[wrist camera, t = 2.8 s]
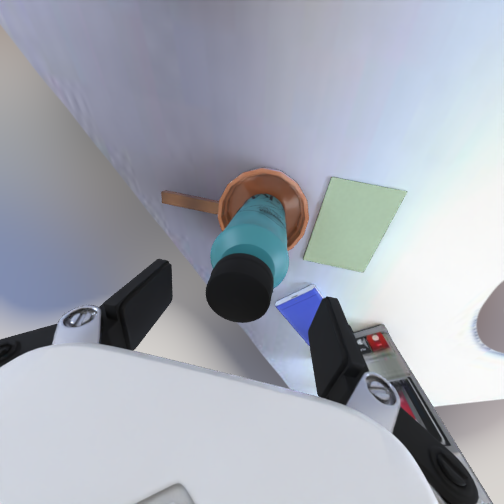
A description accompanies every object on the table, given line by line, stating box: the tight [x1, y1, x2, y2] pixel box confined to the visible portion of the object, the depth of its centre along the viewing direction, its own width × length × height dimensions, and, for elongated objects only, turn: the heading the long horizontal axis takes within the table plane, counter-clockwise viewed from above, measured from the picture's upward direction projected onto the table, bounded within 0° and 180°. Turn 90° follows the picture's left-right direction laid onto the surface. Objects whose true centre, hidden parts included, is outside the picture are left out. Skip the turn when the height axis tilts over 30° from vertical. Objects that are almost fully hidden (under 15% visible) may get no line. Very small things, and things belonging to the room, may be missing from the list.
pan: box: [218, 167, 309, 251], centre depth 27 cm, size 12×12×4 cm
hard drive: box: [275, 284, 324, 346], centre depth 36 cm, size 2×8×12 cm
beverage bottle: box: [206, 193, 289, 323], centre depth 19 cm, size 6×7×20 cm
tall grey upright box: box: [354, 325, 493, 504], centre depth 27 cm, size 14×6×25 cm, turn 123°
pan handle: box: [161, 190, 219, 214], centre depth 26 cm, size 8×2×1 cm, turn 80°
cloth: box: [303, 177, 407, 272], centre depth 28 cm, size 10×13×1 cm
